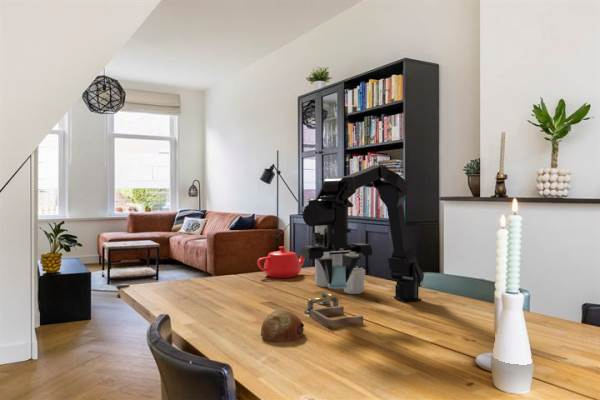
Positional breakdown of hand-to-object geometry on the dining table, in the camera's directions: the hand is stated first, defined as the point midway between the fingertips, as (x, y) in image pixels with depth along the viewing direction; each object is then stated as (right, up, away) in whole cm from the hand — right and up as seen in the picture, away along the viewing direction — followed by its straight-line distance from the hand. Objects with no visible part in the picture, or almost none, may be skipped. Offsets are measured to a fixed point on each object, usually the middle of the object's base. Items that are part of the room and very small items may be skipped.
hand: (337, 283), depth 121 cm
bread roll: (-14, -11, -13) cm, 22 cm away
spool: (0, -1, 0) cm, 1 cm away
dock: (-1, -10, 0) cm, 10 cm away
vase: (+1, -10, +48) cm, 49 cm away
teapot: (-17, -9, +67) cm, 69 cm away
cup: (+8, -10, +32) cm, 35 cm away
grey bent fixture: (-5, -10, +13) cm, 17 cm away
